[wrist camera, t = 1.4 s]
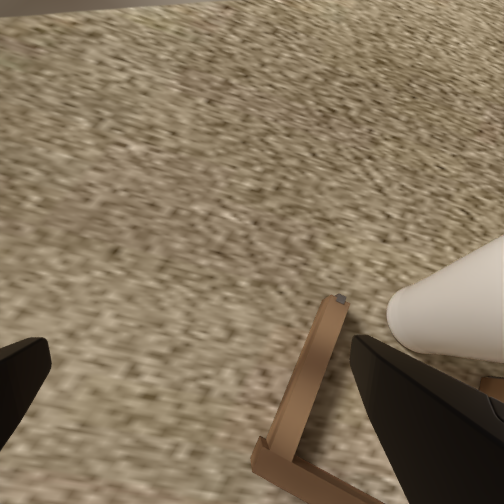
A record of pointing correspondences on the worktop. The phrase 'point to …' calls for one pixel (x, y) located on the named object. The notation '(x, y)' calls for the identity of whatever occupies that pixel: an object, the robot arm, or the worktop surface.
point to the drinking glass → (455, 308)
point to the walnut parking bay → (297, 412)
